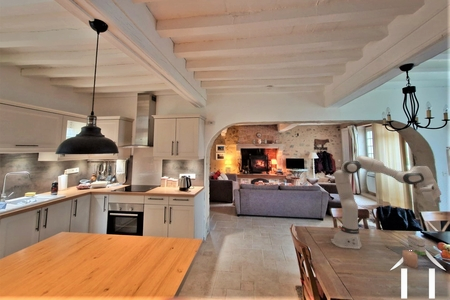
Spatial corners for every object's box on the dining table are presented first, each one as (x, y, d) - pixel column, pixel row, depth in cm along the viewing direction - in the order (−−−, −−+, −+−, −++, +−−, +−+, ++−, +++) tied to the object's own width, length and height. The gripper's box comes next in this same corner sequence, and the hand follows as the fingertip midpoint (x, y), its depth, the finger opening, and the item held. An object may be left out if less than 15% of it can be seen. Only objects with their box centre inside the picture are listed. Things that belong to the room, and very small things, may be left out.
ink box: (426, 255, 131) (425, 239, 132) (419, 255, 131) (418, 239, 132) (414, 249, 139) (413, 234, 140) (408, 249, 140) (406, 234, 140)
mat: (405, 257, 128) (405, 257, 128) (386, 247, 144) (386, 246, 144) (424, 258, 127) (424, 257, 127) (403, 247, 143) (403, 246, 143)
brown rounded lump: (410, 267, 117) (409, 255, 118) (400, 261, 124) (399, 250, 125) (421, 267, 117) (420, 255, 117) (410, 261, 124) (409, 250, 124)
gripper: (427, 183, 140) (435, 200, 137) (418, 189, 130) (426, 208, 128) (439, 182, 134) (447, 200, 132) (430, 188, 125) (439, 208, 122)
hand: (437, 204), depth 130 cm, fingers open, 8 cm apart
